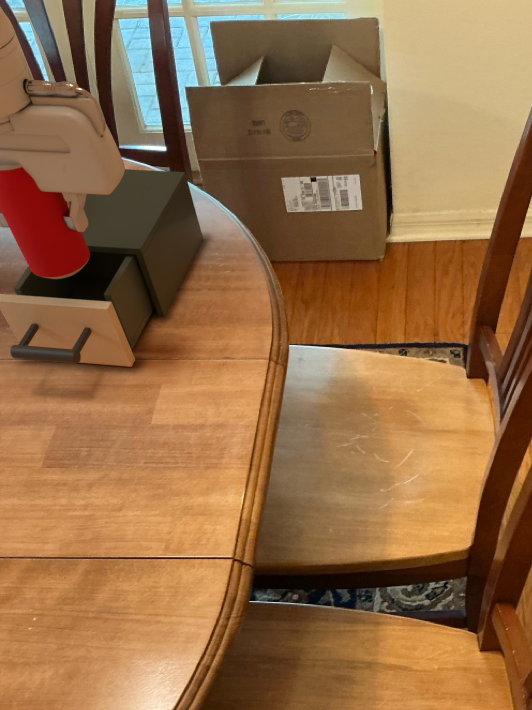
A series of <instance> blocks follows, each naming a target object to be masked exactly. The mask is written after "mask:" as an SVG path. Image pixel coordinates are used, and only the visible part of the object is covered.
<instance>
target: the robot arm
mask: <svg viewBox="0 0 532 710" xmlns="http://www.w3.org/2000/svg"><path fill="white" fill-rule="evenodd" d="M18 164H21V165H22V167H23V168H24V169H25V171H26V172H27V173H28V174H29V175H30V176H31V177H32V178H33V179H34V180H35V182H36V184H37V186H38V187H39V189H40V190H41V191H43V192H62V194H63V197H64V199H65V201H68V202H70V201H71V207H69V208H68V210H67V212H66V213H65V214H64V215H63V216H62V218H63V220H64V223H65V224H66V225H67V229H68V231H77V232H84V231H85V230H86V228H87V227H88V219H87V217H86V214H85V211H84V209H83V208H84V205H85V200H86V195H87V194H99V195H109V194H111V193H112V192H113V191H114V189H115V188H116V187H117V186H118V184H119V183H120V181H121V179H122V177H123V175H124V172H125V169H126V167H125V163H124V160H123V158H122V155H121V152H120V150H119V148H118V146H117V143H116V141H115V139H114V137H113V134H112V133H111V130H110V128H109V127H108V125H107V123H106V118H105V116H104V113H103V110H102V106H101V104H100V102H99V100H98V98H97V97H96V96H95V95H93V94H92V93H90V92H89V91H87V90H86V89H84V88H82V87H80V86H79V84H77V82H74V81H69V80H67V81H65V80H63V81H60V82H56V81H49V80H38V79H37V80H36V79H34V77H33V74H32V71H31V68H30V66H29V64H28V61H27V58H26V56H25V54H24V51H23V49H22V46H21V43H20V40H19V39H18V36H17V33H16V31H15V29H14V26H13V24H12V22H11V20H10V18H9V17H8V16H7V14H6V13H5V12H4V10H3V9H2V7H1V6H0V165H12V166H14V165H18ZM0 228H6V229H7V228H9V226H8V224H7V222H6V220H5V218H4V216H3V214H2V212H1V210H0ZM9 229H10V228H9Z"/></svg>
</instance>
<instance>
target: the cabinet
mask: <svg viewBox="0 0 532 710" xmlns="http://www.w3.org/2000/svg"><path fill="white" fill-rule="evenodd" d="M189 185H190V184H189V181H188V179H187V174H186V172H185V171H171V170H169V171H167V170H149V169H133V168H132V169H130V168H127V169H126V168H125V172H124V175H123V177H122V179H121V181H120V183H119V184H118V186H117V187H116V188H115V189H114V191H113V192H112V193H111V194H109V195H99V194H87V195H86V200H85V205H84V208H83V209H84V211H85V214H86V217H87V219H88V227H87V228H86V230H85V231H84V232H82V234H83V237H84V239H85V242H86V244H87V246H88V249H89V251H90V252H103V253H119V254H134V255H136V256H137V258H138V261H139V264H140V267H141V270H142V272H143V275H144V278H145V281H146V284H147V286H148V289H149V292H150V295H151V298H152V300H153V303H154V306H155V307H154V309H153V311H152V313H151V315H150V317H151V316H153V317H165V316H166V314H167V312H168V310H169V308H170V306H171V304H172V302H173V300H174V298H175V296H176V295H177V292H178V290H179V289H180V286H181V285H182V283H183V281H184V279H185V276H186V275H187V272H188V271H189V269H190V266H191V265H192V263H193V261H194V258H195V257H196V255H197V253H198V250H199V249H200V247H201V245H202V243H203V241H204V237H203V233H202V229H201V226H200V222H199V218H198V215H197V211H196V207H195V203H194V200H193V196H192V192H191V188H190V186H189ZM69 203H70V206H71V201H70V202H69Z"/></svg>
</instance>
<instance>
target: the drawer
mask: <svg viewBox="0 0 532 710" xmlns="http://www.w3.org/2000/svg"><path fill="white" fill-rule="evenodd" d="M12 289H13V291H14V293H15V294H9V293H0V313H1V314H2V315H3V318H4V319H5V321H6V323H7V325H8V326H9V328H10V330H11V332H12V334H13V335H14V337H15V339H16V341H17V342H18V344H12V345H11V346H10V351H9V352H10V356H11V357H12V358H13V359H16V360H17V359H18V360H26V361H27V360H30V361H40V362H41V361H42V362H53V363H54V362H55V363H66V364H75V365H77V364H79V363H81V364H93V365H107V366H117V367H118V366H119V367H130V368H132V367H133V365H134V363H135V361H136V358H135V356H134V354H133V349H134V347H135V346H136V343H137V342H138V340H139V337H140V336H141V334H142V332H143V330H144V328H145V326H146V324H147V323H148V320H149V319H150V317H151V313H152V311H153V309H154V307H155V306H154V303H153V300H152V298H151V295H150V292H149V289H148V286H147V284H146V281H145V278H144V275H143V272H142V270H141V267H140V264H139V261H138V258H137V256H136V255H134V254H119V253H103V252H90V257H89V260H88V262H87V263H86V265H85V266H84V267H83V268H82V269H81V270H80V271H79V272H77V273H76V274H74V275H72V276H69V277H66V278H61V279H50V278H44V277H41V276H38V275H36V274H34V273H33V272H32V271H31V270H30V268H29V266H28V265H27V268H26V269H25V270H24V271H23V272H22V274H21V276H20V277H19V279H18V280H17V282H16V283H15V284H14V286H13V287H12Z"/></svg>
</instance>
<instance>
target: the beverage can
mask: <svg viewBox="0 0 532 710" xmlns="http://www.w3.org/2000/svg"><path fill="white" fill-rule="evenodd" d="M69 207H71V206H70V203H69V202H68V201H65V199H64V197H63V194H62V192H43V191H41V190H40V189H39V187H38V186H37V184H36V182H35V180H34V179H33V178H32V177H31V176H30V175H29V174H28V173H27V172H26V171H25V169H24V168H23V167H22V165H21V164H18V165H14V166H12V165H0V210H1V212H2V214H3V216H4V218H5V220H6V222H7V224H8V226H9V230H10V232H11V234H12V236H13V238H14V240H15V242H16V244H17V246H18V248H19V250H20V252H21V253H22V256H23V258H24V260H25V262H26V264H27V267H28V266H29V268H30V270H31V271H32V272H33V273H34V274H36V275H38V276H41V277H44V278H50V279H61V278H66V277H69V276H72V275H74V274H76V273H77V272H79V271H80V270H81V269H82V268H83V267H84V266H85V265H86V263H87V262H88V260H89V257H90V251H89V249H88V246H87V244H86V242H85V239H84V237H83V234H82V232H77V231H68V229H67V225H66V224H65V223H64V220H63V218H62V216H63V215H64V214H65V213H66V212H67V210H68V208H69Z"/></svg>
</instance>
